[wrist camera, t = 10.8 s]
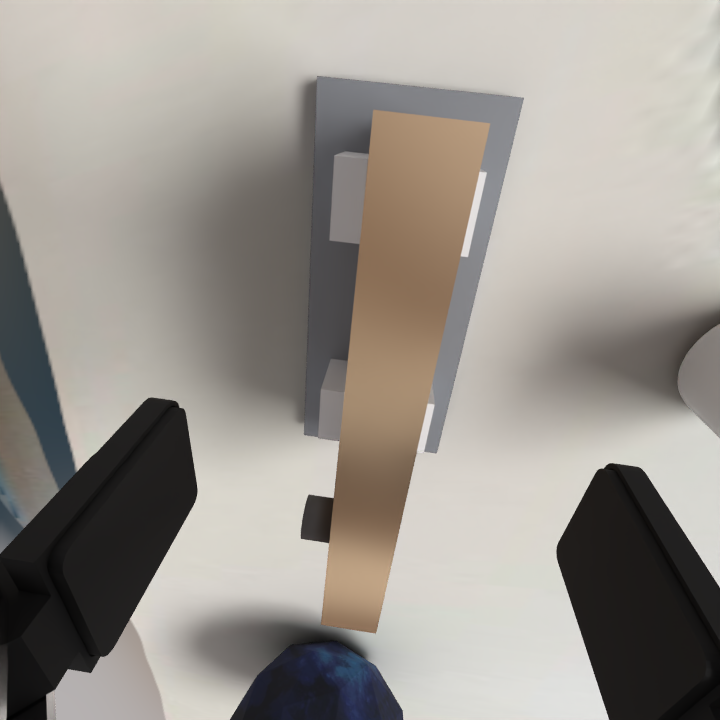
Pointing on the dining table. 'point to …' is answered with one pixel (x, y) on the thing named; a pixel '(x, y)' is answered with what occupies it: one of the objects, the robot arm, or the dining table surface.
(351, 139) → the hinge base
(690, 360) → the beverage can
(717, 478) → the dining table surface
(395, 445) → the door panel
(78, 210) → the dining table surface
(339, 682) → the decorative orb
